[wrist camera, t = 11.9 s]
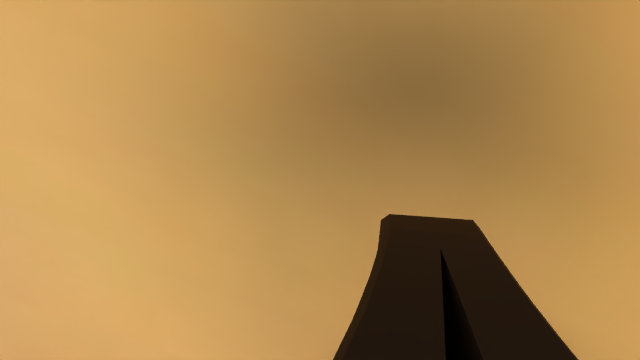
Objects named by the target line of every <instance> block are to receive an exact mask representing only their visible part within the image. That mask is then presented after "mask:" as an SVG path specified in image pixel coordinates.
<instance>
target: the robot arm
mask: <svg viewBox="0 0 640 360" xmlns="http://www.w3.org/2000/svg"><path fill="white" fill-rule="evenodd" d="M333 360H578V359H577V358H576V356H575V355H574V354H573V353H572V352H571V350H570V349H569V348H568V347H567V346H566V344H565V343H564V342H563V341H562V339H561V338H560V337H559V336H558V334H557V333H556V332H555V331H554V329H553V328H552V327H551V325H550V324H549V323H548V322H547V320H546V319H545V318H544V317H543V315H542V314H541V313H540V311H539V310H538V309H537V308H536V306H535V305H534V304H533V303H532V301H531V300H530V299H529V297H528V296H527V295H526V293H525V292H524V291H523V289H522V288H521V286H520V285H519V284H518V282H517V281H516V280H515V278H514V277H513V275H512V274H511V273H510V271H509V270H508V268H507V267H506V266H505V264H504V263H503V261H502V260H501V259H500V257H499V256H498V254H497V253H496V251H495V250H494V249H493V247H492V246H491V244H490V243H489V241H488V240H487V238H486V237H485V235H484V234H483V232H482V231H481V230H480V228H479V227H478V226H477V224H476V223H475V222H474V221H473V220H464V219H450V218H436V217H422V216H407V215H393V214H389V215H388V216H386V217H385V218H383V219H382V220H381V226H380V235H379V244H378V251H377V255H376V258H375V261H374V265H373V268H372V271H371V274H370V277H369V280H368V282H367V285H366V287H365V290H364V292H363V295H362V298H361V300H360V303H359V305H358V308H357V310H356V313H355V315H354V317H353V319H352V322H351V324H350V326H349V328H348V330H347V332H346V334H345V336H344V338H343V340H342V342H341V344H340V346H339V348H338V350H337V353H336V355H335V357H334V359H333Z"/></svg>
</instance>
